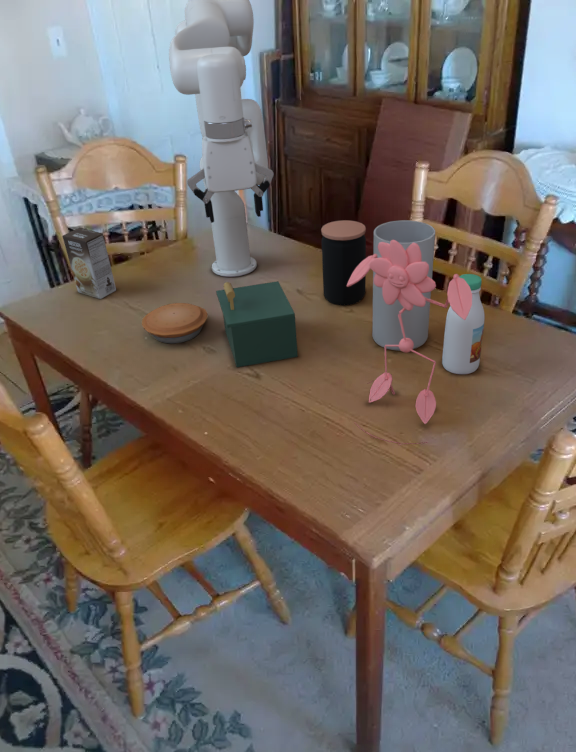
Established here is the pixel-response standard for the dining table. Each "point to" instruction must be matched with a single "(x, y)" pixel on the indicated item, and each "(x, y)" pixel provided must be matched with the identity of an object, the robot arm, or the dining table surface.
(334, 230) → the coffee jar
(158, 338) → the pie
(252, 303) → the bread bin lid
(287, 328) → the bread bin
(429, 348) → the dining table surface
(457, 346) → the milk bottle
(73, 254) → the coffee box
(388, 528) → the dining table surface
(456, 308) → the figurine
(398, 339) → the cylinder vase
